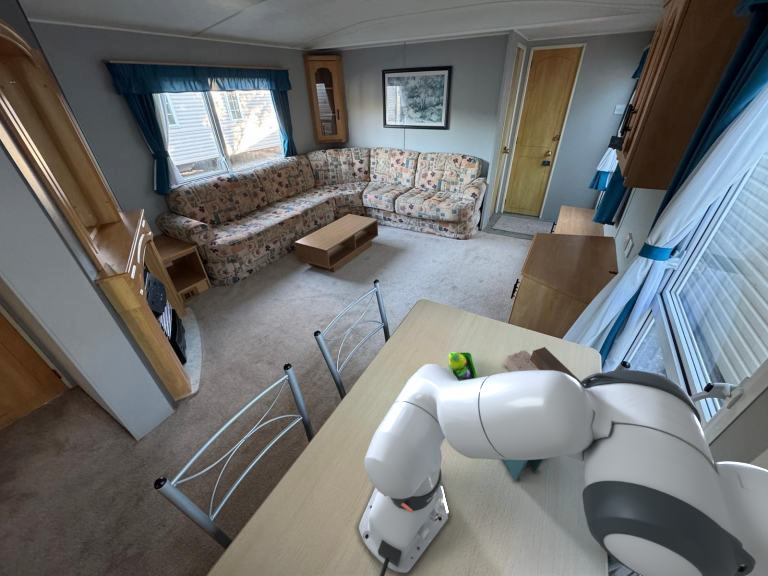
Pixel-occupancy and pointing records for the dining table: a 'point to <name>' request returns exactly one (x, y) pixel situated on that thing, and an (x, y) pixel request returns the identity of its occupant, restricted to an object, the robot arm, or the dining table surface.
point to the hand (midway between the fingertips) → (627, 464)
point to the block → (549, 362)
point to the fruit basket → (462, 366)
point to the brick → (519, 362)
